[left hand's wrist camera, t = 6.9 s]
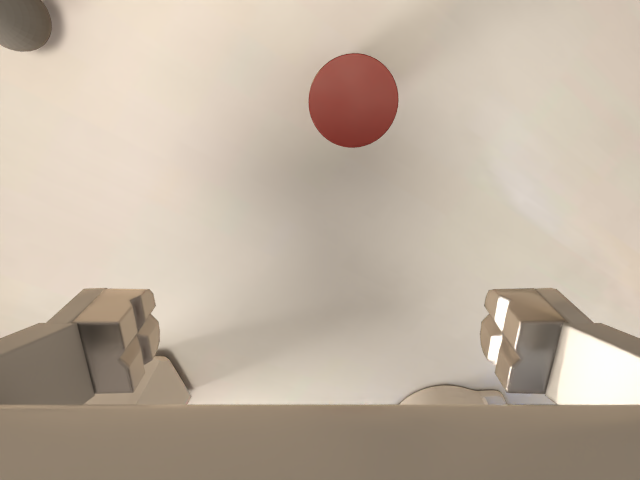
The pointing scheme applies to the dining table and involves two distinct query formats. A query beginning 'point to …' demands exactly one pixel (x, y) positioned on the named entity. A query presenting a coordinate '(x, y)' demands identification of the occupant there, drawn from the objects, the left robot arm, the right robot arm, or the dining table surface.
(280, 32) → the dining table surface
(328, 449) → the left robot arm
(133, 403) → the electronic device
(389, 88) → the cap
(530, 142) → the dining table surface
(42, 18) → the molecular model
